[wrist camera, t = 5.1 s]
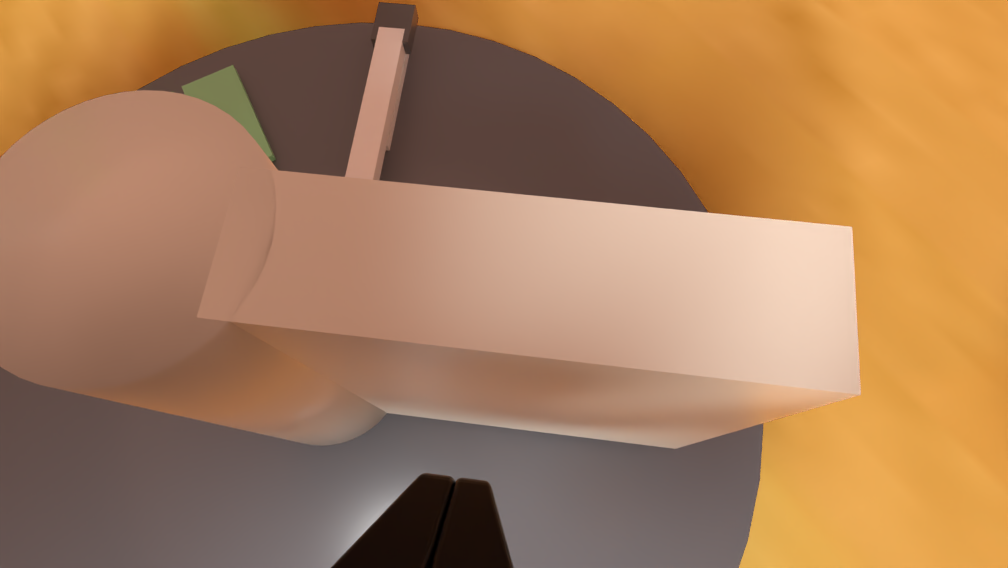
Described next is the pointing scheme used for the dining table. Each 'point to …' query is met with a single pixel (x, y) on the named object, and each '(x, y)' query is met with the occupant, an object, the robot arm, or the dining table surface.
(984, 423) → the dining table surface
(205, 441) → the tuner plate
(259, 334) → the peg key
